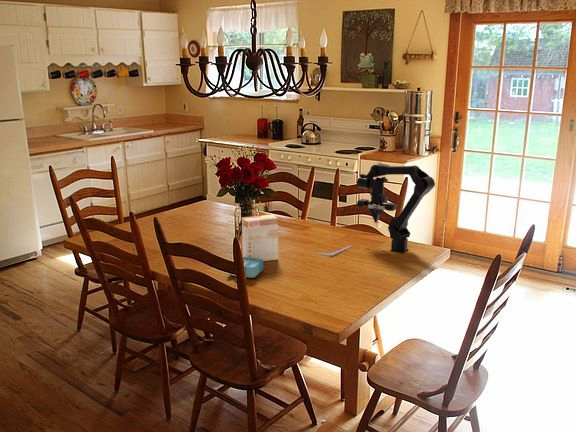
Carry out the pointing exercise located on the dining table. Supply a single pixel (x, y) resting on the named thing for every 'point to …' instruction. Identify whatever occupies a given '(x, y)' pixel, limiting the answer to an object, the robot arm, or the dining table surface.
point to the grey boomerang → (334, 252)
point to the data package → (252, 266)
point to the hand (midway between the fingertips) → (376, 222)
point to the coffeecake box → (260, 237)
